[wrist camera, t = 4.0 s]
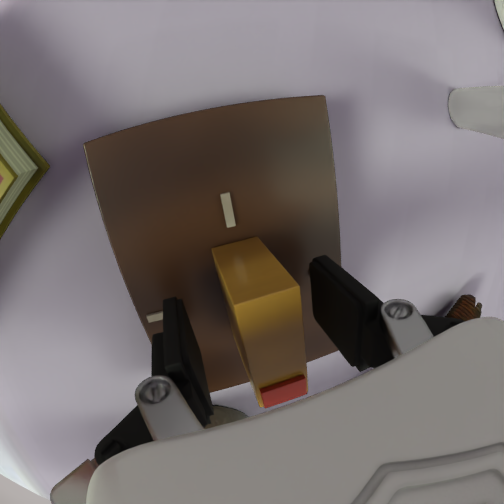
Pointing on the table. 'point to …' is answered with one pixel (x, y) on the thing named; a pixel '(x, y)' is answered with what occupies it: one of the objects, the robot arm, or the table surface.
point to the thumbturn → (264, 319)
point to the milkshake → (478, 109)
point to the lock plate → (218, 211)
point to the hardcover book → (16, 169)
